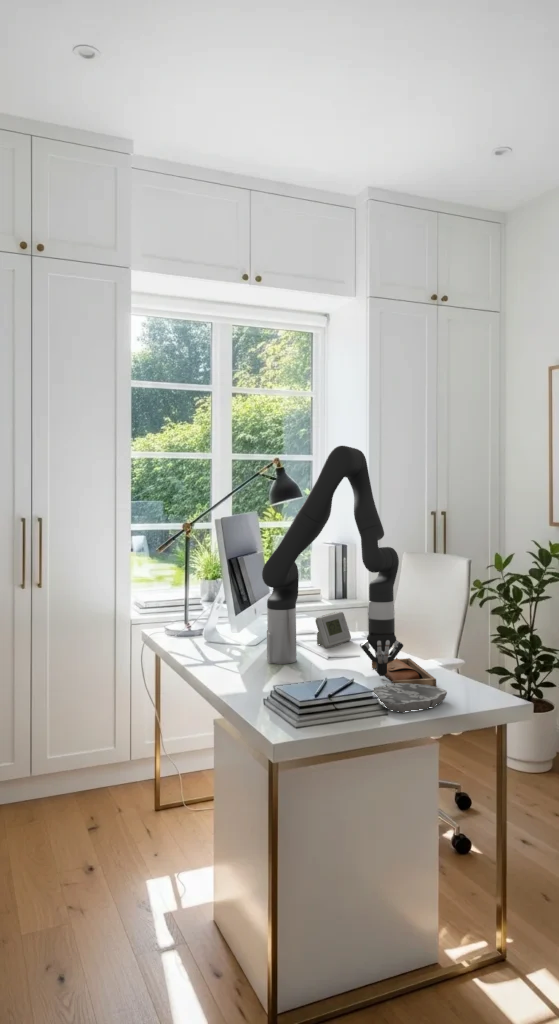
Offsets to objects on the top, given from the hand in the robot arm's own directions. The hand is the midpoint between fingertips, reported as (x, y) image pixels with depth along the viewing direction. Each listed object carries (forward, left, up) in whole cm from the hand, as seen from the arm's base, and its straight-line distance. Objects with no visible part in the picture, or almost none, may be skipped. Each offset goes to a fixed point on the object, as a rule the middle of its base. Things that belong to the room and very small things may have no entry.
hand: (381, 675), depth 206 cm
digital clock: (-5, +47, -1) cm, 47 cm away
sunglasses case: (+5, +1, -2) cm, 6 cm away
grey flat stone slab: (0, -23, -2) cm, 23 cm away
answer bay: (+6, 0, -1) cm, 6 cm away
